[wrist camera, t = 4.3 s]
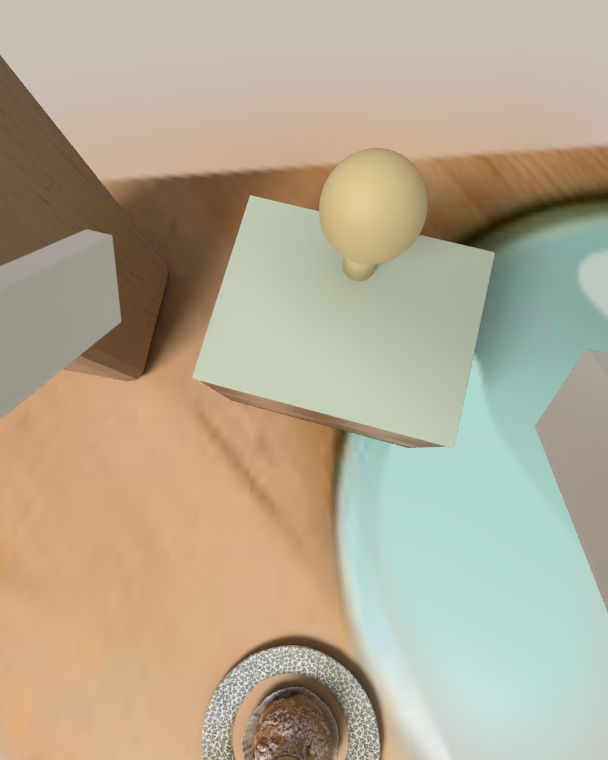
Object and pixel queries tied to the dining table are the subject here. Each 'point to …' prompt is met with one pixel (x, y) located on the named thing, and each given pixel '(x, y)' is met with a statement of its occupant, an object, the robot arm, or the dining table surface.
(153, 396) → the dining table surface
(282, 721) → the speckled grey ring
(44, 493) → the dining table surface
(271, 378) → the lid
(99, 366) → the block
